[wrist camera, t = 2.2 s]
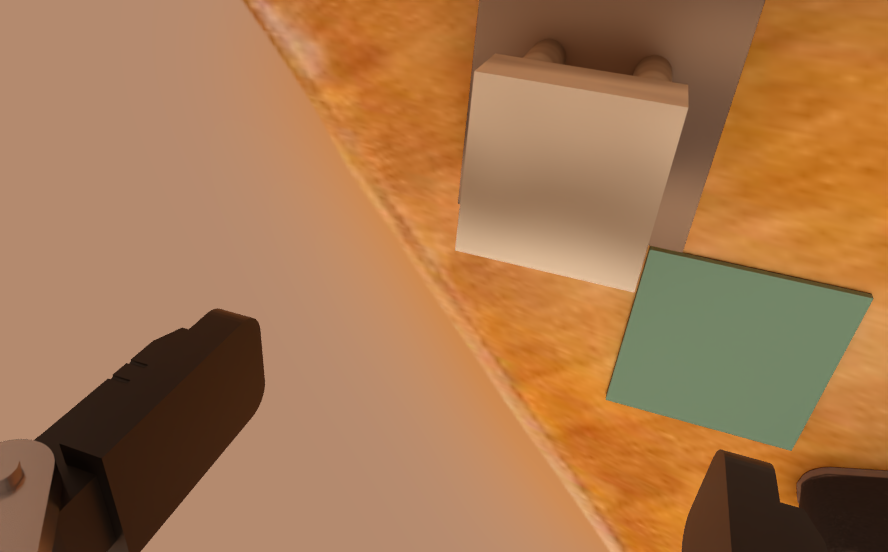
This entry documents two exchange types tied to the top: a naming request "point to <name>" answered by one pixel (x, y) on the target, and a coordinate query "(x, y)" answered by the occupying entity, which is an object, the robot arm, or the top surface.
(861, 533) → the camera
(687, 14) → the brown square block
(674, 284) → the pad
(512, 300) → the top surface
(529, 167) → the cream studded brick
